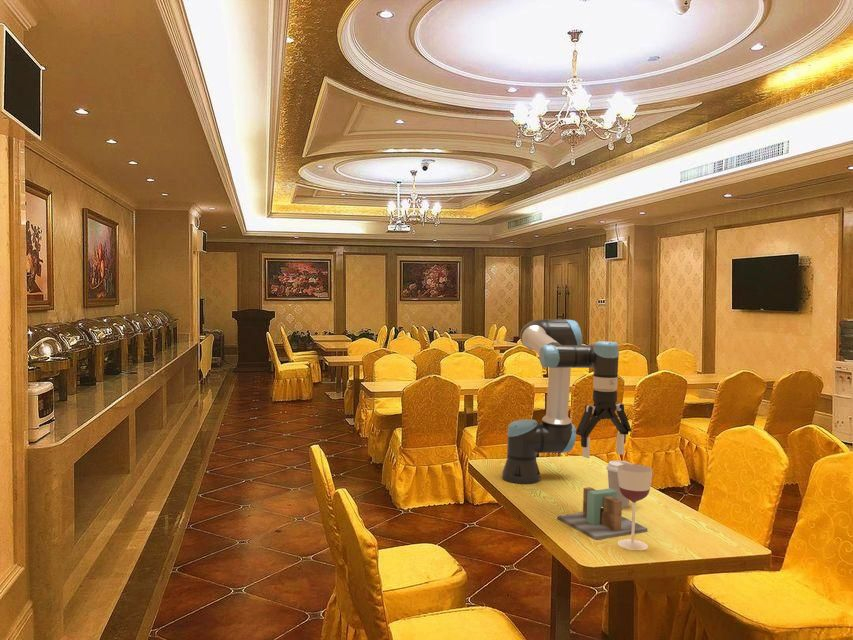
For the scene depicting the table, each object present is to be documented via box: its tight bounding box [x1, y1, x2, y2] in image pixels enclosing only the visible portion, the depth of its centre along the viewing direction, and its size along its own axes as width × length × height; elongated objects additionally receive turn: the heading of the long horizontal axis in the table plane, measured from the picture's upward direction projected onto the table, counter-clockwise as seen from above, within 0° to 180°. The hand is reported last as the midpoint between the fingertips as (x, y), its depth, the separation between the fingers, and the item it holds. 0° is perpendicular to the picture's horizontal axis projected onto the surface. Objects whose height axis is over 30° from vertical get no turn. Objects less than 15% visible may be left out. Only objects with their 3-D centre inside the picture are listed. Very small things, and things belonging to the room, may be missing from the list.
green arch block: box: [587, 487, 617, 525], centre depth 211 cm, size 4×9×10 cm, turn 114°
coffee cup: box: [605, 460, 632, 509], centre depth 231 cm, size 10×10×15 cm
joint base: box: [556, 486, 648, 541], centre depth 211 cm, size 20×20×10 cm
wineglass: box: [617, 463, 654, 551], centre depth 194 cm, size 9×10×23 cm
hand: (603, 455), depth 210 cm, fingers open, 13 cm apart
